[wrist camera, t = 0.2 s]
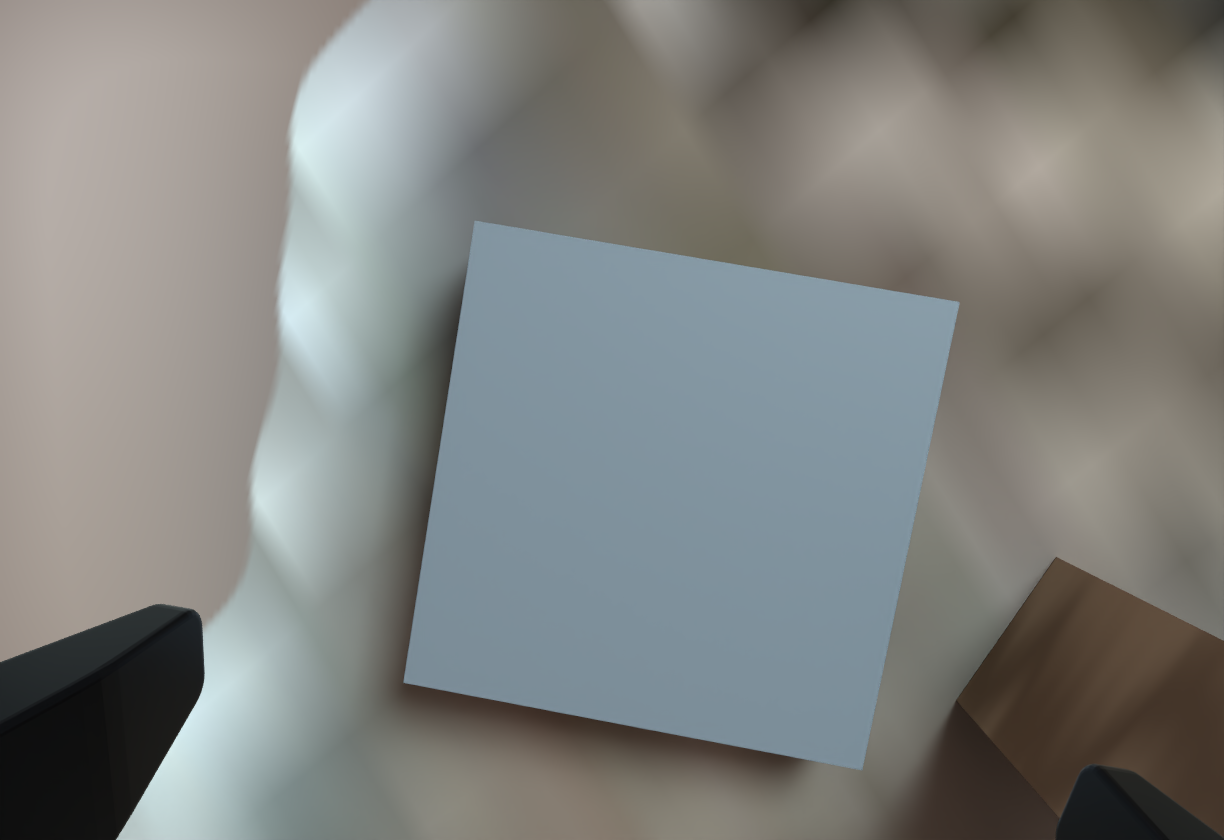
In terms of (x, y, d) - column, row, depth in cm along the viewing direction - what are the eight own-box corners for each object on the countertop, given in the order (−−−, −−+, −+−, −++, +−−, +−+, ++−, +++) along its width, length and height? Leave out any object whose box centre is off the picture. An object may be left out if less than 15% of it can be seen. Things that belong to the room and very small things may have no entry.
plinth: (836, 718, 24) (861, 770, 21) (434, 642, 24) (403, 682, 21) (919, 309, 23) (959, 302, 20) (498, 238, 23) (474, 220, 20)
